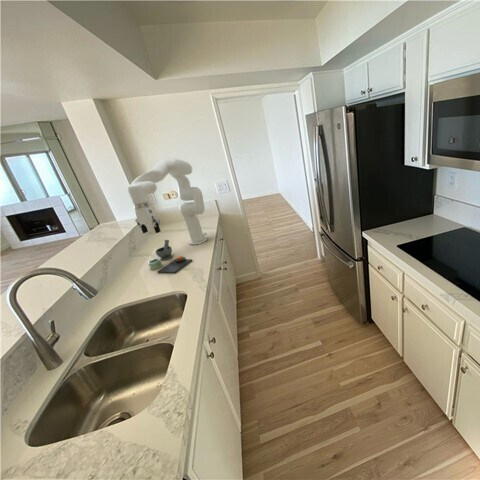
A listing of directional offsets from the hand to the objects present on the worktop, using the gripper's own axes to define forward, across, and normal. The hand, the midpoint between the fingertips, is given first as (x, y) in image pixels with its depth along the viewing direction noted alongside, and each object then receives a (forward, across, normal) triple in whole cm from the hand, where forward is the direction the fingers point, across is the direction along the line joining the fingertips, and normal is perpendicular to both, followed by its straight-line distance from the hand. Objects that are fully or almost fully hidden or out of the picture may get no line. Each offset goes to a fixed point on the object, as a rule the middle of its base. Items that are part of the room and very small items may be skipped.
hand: (152, 232), depth 162 cm
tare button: (+22, -7, -7) cm, 24 cm away
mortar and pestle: (+25, +11, -14) cm, 31 cm away
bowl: (+25, +7, 0) cm, 26 cm away
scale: (+25, -7, -1) cm, 26 cm away
